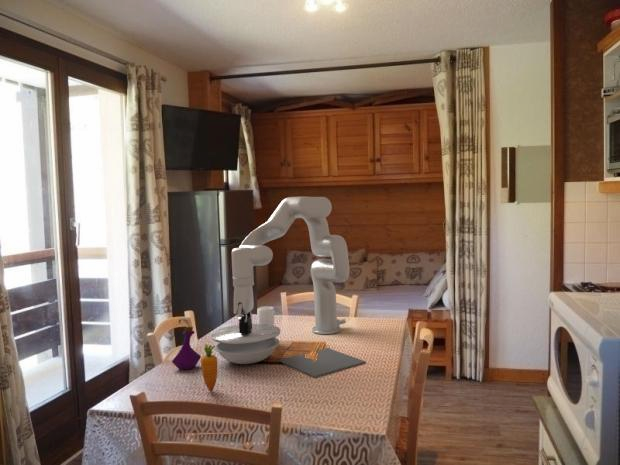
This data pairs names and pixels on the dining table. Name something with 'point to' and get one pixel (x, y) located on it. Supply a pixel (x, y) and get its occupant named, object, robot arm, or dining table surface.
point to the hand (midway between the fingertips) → (245, 330)
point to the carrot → (209, 367)
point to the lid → (253, 336)
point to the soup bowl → (246, 351)
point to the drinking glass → (265, 315)
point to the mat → (322, 362)
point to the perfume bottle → (186, 351)
